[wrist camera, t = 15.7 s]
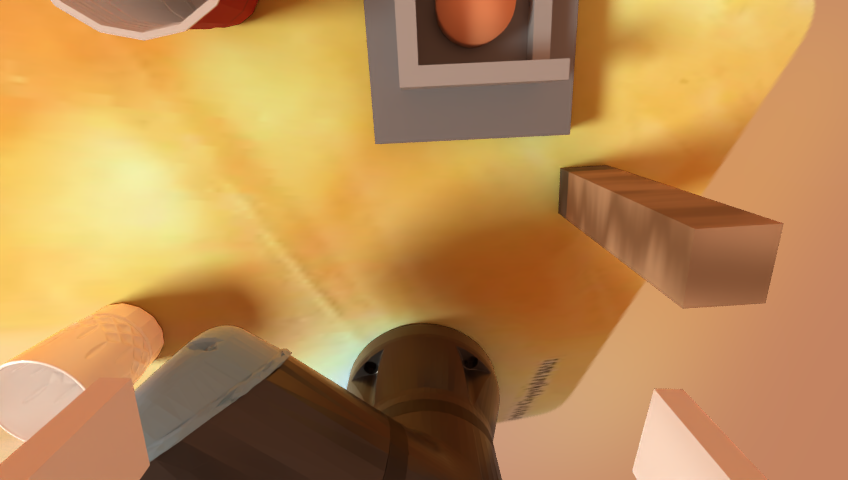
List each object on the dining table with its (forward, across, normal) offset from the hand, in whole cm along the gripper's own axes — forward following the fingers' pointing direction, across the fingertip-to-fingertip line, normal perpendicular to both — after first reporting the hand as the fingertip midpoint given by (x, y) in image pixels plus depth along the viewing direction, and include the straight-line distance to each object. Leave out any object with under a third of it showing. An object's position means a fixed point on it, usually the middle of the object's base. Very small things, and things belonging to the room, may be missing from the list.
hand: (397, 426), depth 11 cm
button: (+24, -4, -14) cm, 28 cm away
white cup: (+27, +27, +14) cm, 41 cm away
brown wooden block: (+27, -15, -1) cm, 31 cm away
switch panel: (+27, -4, -14) cm, 31 cm away
